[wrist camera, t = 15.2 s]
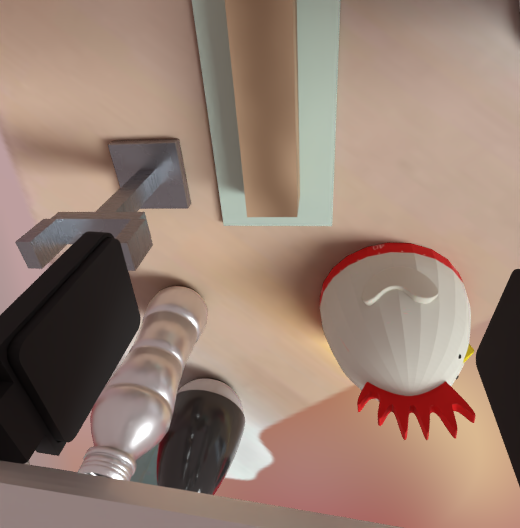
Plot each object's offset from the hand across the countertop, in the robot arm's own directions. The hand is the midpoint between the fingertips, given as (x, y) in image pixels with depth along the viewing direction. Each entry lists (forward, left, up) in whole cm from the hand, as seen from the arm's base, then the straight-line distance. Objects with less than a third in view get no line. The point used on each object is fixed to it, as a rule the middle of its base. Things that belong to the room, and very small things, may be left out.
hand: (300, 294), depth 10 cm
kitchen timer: (-7, +20, -25) cm, 33 cm away
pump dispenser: (+14, +37, -24) cm, 47 cm away
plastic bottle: (+15, +21, -24) cm, 35 cm away
